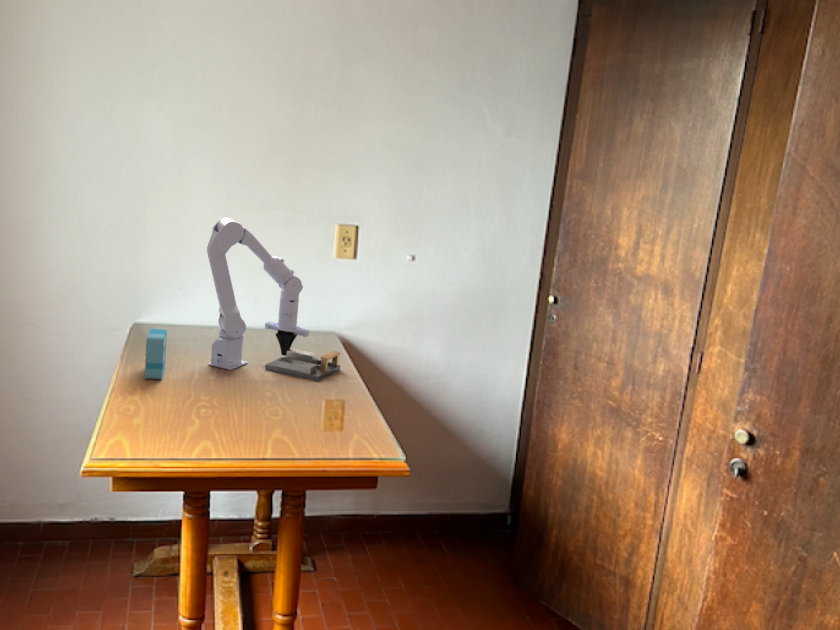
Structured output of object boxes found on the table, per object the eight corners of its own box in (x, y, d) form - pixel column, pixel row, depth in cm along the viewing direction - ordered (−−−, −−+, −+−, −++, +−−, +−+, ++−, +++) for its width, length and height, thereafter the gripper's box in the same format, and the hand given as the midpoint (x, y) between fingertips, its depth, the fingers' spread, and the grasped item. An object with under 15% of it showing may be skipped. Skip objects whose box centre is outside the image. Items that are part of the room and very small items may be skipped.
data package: (161, 381, 216) (163, 339, 213) (144, 380, 214) (146, 338, 212) (164, 368, 227) (166, 328, 224) (148, 367, 226) (150, 327, 223)
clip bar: (311, 365, 240) (312, 356, 240) (286, 359, 243) (287, 350, 243) (317, 363, 244) (318, 353, 243) (291, 357, 247) (292, 348, 246)
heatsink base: (318, 381, 231) (319, 362, 230) (265, 369, 237) (266, 350, 236) (340, 370, 245) (341, 352, 244) (289, 358, 251) (291, 341, 249)
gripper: (315, 314, 244) (311, 356, 247) (274, 306, 248) (271, 347, 251) (304, 318, 237) (300, 361, 240) (262, 310, 242) (259, 352, 245)
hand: (284, 354), depth 245 cm, fingers closed
